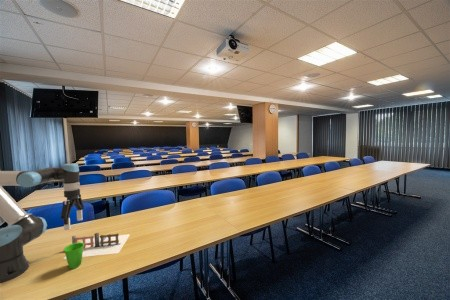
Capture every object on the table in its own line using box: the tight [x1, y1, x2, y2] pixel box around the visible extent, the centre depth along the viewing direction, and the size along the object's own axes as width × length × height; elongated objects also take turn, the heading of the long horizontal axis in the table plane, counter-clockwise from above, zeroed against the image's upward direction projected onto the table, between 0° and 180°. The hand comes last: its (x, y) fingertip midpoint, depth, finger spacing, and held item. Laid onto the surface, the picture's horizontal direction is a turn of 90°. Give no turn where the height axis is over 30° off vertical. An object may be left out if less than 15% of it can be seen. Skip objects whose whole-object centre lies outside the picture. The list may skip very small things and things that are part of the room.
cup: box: [63, 241, 84, 270], centre depth 106 cm, size 9×9×11 cm
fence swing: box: [71, 235, 95, 248], centre depth 124 cm, size 2×12×8 cm, turn 101°
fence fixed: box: [93, 232, 120, 247], centre depth 127 cm, size 2×14×8 cm, turn 100°
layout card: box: [62, 233, 131, 260], centre depth 127 cm, size 25×30×1 cm
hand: (73, 224), depth 116 cm, fingers open, 12 cm apart
